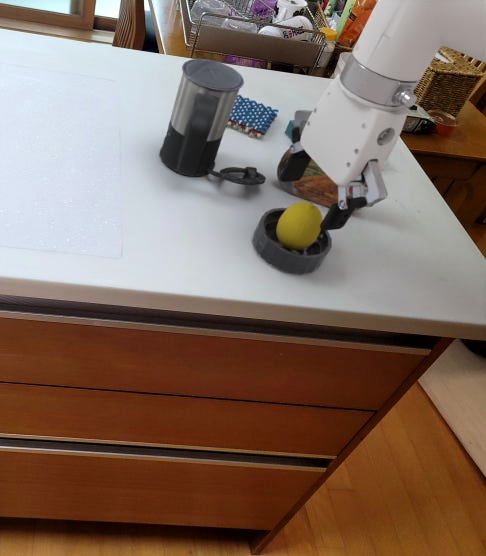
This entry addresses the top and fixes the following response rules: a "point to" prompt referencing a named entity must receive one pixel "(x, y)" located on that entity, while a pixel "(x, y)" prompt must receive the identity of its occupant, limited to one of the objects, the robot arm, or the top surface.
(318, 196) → the tin
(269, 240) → the bowl
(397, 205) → the top surface
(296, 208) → the lemon
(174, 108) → the milk frother
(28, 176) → the top surface
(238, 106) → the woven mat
